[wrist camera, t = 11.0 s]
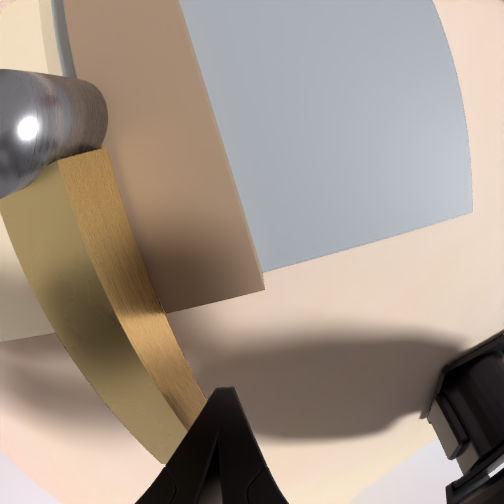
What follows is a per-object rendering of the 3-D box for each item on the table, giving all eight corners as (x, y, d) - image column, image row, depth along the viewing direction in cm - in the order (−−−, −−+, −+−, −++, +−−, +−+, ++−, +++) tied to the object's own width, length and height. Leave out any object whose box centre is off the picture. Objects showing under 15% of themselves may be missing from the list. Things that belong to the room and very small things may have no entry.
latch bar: (29, 103, 5) (-49, 108, 3) (98, 64, 5) (24, 43, 3) (164, 417, 10) (154, 478, 8) (220, 414, 10) (217, 479, 8)
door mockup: (374, -71, 5) (422, -121, 1) (454, 202, 10) (531, 247, 5) (-71, 131, 7) (-126, 149, 3) (-1, 323, 11) (-41, 373, 7)
